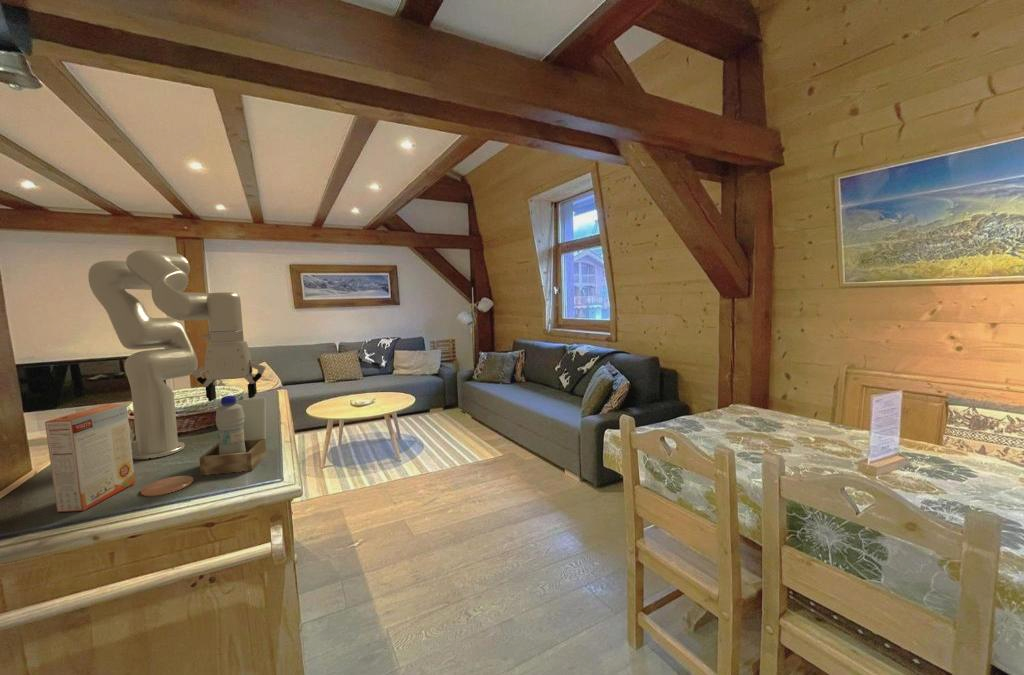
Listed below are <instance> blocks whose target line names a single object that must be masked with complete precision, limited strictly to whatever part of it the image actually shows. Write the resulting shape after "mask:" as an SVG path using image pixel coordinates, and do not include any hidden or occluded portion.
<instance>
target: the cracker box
mask: <svg viewBox="0 0 1024 675" xmlns="http://www.w3.org/2000/svg"><path fill="white" fill-rule="evenodd" d="M44 426H45V433H46V440H47V448H48V455H49V461H50V462H49V463H50V469H51V476H52V478H51V479H52V484H53V489H54V490H53V491H54V499H55V505H56V512H57V513H67V512H83V511H86V510H88V509H89V508H92V507H95V505H97V504H99V503H101V502H103V501H104V500H107V499H108V498H110V497H112V496H113V495H116V494H117V493H120V492H121V491H124V490H125V489H127V488H128V487H131V486H132V485H134V484H136V479H135V470H134V469H135V468H134V459H132V452H133V449H131V441H132V440H131V433H130V423H129V415H128V406H127V404H126V403H124V404H122V403H119V404H113V403H111V404H110V403H109V404H103V405H99V406H95V407H92V408H89V409H85V410H81V411H78V412H74V413H70V414H67V415H64V416H59V417H56V418H53V419H50V420H49V419H48V420H46V421H45V422H44Z"/></svg>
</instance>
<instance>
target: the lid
mask: <svg viewBox="0 0 1024 675" xmlns="http://www.w3.org/2000/svg"><path fill="white" fill-rule="evenodd" d="M235 404H238V405H241V406H242V408H243V412H244V416H245V417H244V420H245V421H244V423H243V427H244V441H246V440H258V439H265V440H266V439H267V438H266V436H267V435H266V398H254V399H252V398H249V399H236V403H235ZM221 406H222V404H221V400H219V401H218V408H219V407H221Z"/></svg>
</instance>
